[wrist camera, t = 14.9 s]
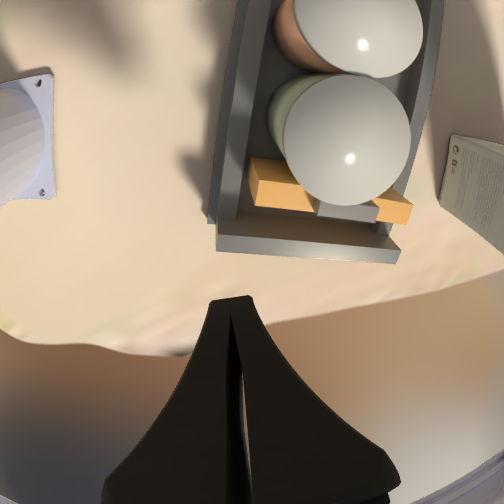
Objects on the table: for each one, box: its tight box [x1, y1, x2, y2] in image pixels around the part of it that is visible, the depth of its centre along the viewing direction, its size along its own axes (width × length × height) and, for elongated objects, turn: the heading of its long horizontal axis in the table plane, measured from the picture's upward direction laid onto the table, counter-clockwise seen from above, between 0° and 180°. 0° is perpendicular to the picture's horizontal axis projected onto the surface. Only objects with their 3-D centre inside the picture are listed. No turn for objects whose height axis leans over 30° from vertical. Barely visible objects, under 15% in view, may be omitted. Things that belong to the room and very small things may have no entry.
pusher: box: [247, 156, 413, 225], centre depth 15 cm, size 8×1×5 cm, turn 81°
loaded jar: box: [266, 73, 411, 206], centre depth 13 cm, size 5×5×6 cm
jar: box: [271, 0, 423, 78], centre depth 10 cm, size 5×5×6 cm
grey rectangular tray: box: [207, 0, 444, 264], centre depth 11 cm, size 12×26×4 cm, turn 171°
